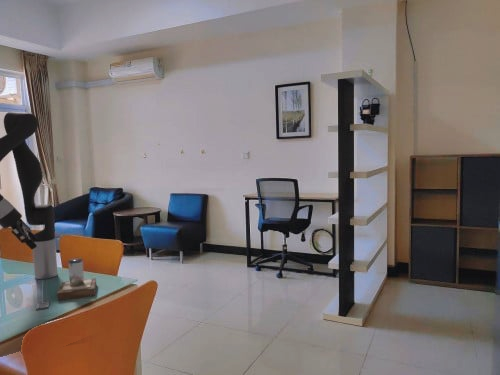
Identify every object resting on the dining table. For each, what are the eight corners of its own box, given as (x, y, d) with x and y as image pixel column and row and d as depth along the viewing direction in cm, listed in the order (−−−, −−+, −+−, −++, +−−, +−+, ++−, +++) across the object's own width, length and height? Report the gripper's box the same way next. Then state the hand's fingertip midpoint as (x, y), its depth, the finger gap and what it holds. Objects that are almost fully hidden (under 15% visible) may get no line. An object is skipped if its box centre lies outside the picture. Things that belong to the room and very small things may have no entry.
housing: (70, 283, 153) (69, 259, 152) (84, 281, 155) (83, 257, 154) (69, 287, 149) (67, 262, 148) (83, 285, 150) (81, 261, 149)
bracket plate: (37, 305, 141) (37, 302, 141) (49, 303, 143) (49, 300, 143) (35, 311, 136) (35, 308, 135) (48, 309, 137) (48, 306, 137)
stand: (62, 289, 156) (61, 281, 156) (96, 285, 160) (95, 277, 160) (57, 300, 144) (57, 292, 144) (94, 295, 148) (94, 287, 148)
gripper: (11, 211, 135) (43, 243, 142) (15, 202, 148) (44, 232, 155) (-8, 224, 133) (25, 256, 140) (-3, 214, 146) (27, 244, 153)
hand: (35, 244), depth 147 cm, fingers open, 8 cm apart
